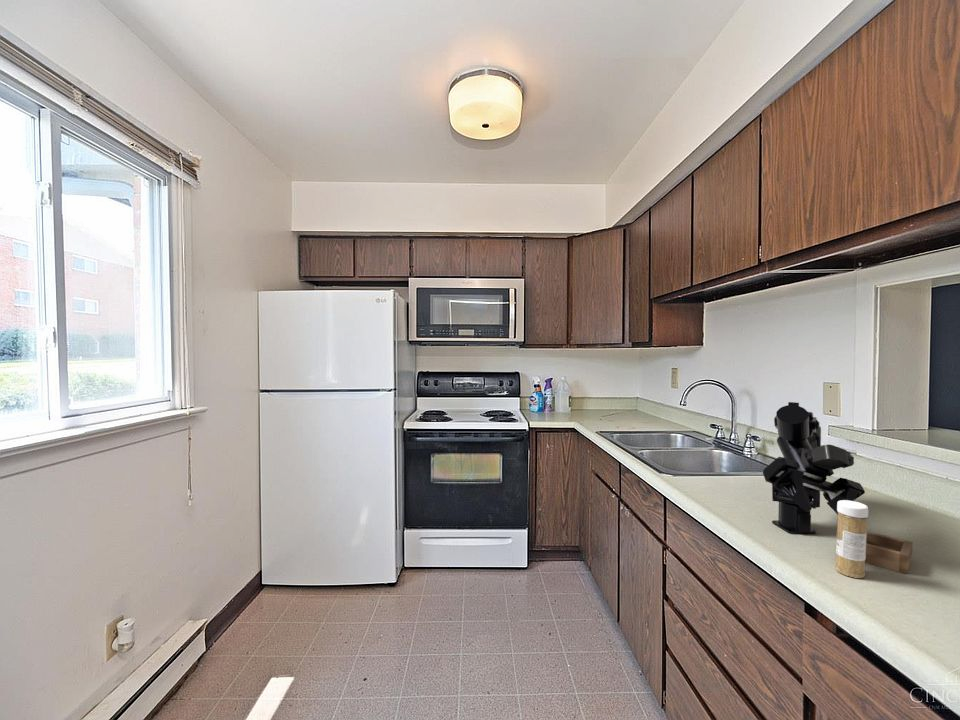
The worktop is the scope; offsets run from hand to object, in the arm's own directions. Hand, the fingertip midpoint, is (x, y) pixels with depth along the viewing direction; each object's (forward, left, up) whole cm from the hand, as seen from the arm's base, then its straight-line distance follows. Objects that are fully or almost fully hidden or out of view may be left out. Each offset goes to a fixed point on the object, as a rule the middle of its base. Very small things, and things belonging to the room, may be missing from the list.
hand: (830, 517), depth 87 cm
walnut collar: (-4, +14, -10) cm, 17 cm away
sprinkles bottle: (+2, +3, -10) cm, 11 cm away
